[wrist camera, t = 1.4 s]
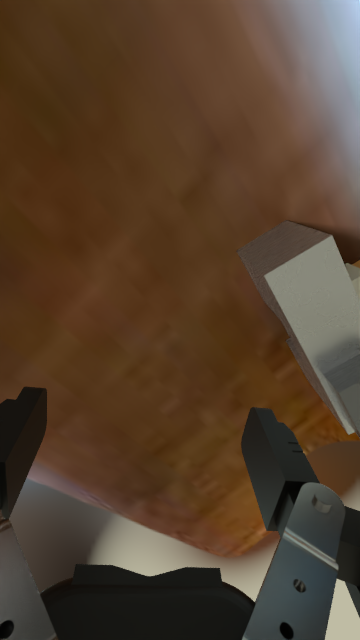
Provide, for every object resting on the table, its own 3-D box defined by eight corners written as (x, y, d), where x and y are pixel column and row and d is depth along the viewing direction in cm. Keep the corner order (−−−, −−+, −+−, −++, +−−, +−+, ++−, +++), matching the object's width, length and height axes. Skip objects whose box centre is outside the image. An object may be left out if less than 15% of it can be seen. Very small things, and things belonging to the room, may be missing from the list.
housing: (286, 220, 35) (352, 241, 23) (350, 357, 43) (426, 428, 31) (236, 250, 36) (276, 286, 24) (307, 380, 44) (365, 457, 32)
